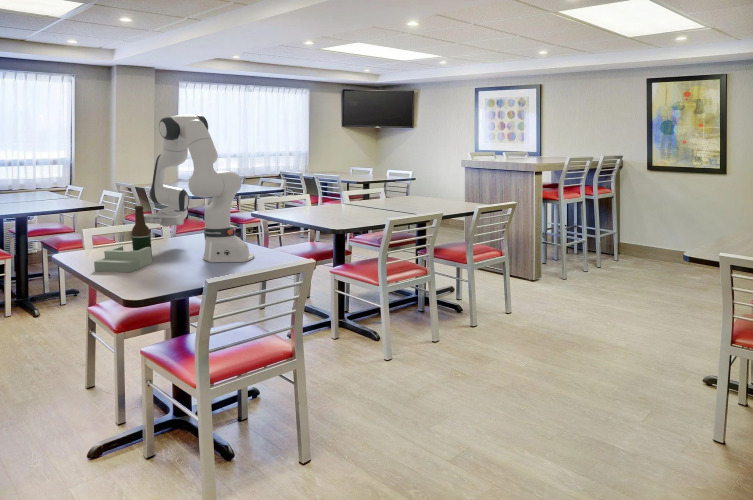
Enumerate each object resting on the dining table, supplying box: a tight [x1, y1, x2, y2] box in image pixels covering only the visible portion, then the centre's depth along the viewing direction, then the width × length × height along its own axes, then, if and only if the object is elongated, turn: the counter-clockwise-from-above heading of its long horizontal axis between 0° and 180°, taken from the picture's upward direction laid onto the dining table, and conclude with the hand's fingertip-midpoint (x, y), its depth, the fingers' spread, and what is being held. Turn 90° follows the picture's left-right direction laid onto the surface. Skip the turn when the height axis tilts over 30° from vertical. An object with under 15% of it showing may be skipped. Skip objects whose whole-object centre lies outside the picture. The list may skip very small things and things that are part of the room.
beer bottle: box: [131, 205, 153, 255], centre depth 266 cm, size 8×8×24 cm
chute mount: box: [93, 245, 153, 273], centre depth 254 cm, size 16×18×7 cm
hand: (152, 221), depth 277 cm, fingers closed
